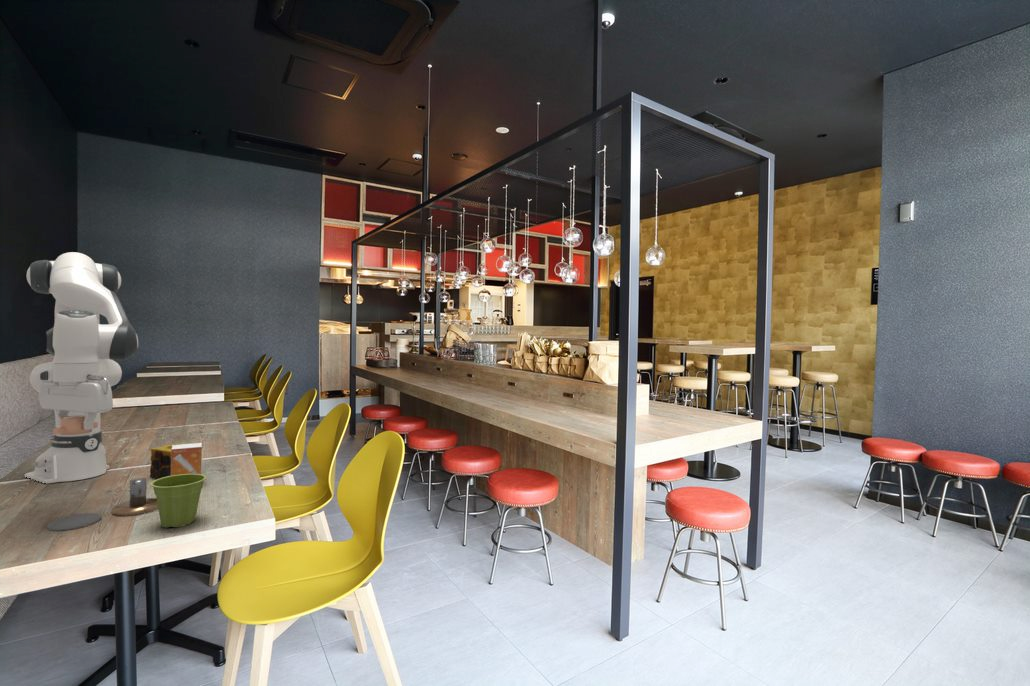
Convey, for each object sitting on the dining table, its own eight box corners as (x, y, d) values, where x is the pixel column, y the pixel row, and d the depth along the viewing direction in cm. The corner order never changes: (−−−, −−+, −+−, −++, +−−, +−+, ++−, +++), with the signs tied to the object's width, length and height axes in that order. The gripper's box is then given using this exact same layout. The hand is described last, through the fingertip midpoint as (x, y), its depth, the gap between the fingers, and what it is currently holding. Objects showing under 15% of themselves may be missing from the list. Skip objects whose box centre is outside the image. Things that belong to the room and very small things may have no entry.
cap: (87, 428, 126) (87, 412, 126) (104, 430, 125) (104, 413, 125) (46, 435, 117) (46, 418, 117) (64, 437, 116) (64, 419, 116)
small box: (170, 491, 147) (170, 449, 146) (171, 485, 152) (171, 444, 152) (201, 487, 151) (202, 446, 151) (201, 481, 156) (202, 442, 156)
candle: (170, 482, 155) (170, 451, 155) (148, 478, 158) (148, 448, 158) (199, 473, 165) (200, 445, 164) (178, 470, 168) (179, 442, 168)
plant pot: (216, 516, 128) (217, 475, 127) (176, 534, 116) (176, 489, 116) (180, 512, 130) (181, 471, 130) (137, 529, 119) (138, 484, 119)
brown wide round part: (101, 513, 128) (101, 483, 128) (142, 499, 138) (142, 472, 138) (132, 518, 125) (133, 488, 125) (172, 504, 136) (172, 476, 136)
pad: (37, 527, 118) (37, 525, 118) (82, 513, 127) (82, 511, 127) (66, 533, 115) (66, 530, 115) (110, 517, 125) (110, 515, 125)
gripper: (120, 375, 121) (120, 428, 121) (62, 371, 126) (61, 423, 126) (93, 377, 115) (93, 433, 115) (32, 373, 120) (32, 427, 120)
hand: (76, 428), depth 121 cm, fingers closed on cap, 6 cm apart
